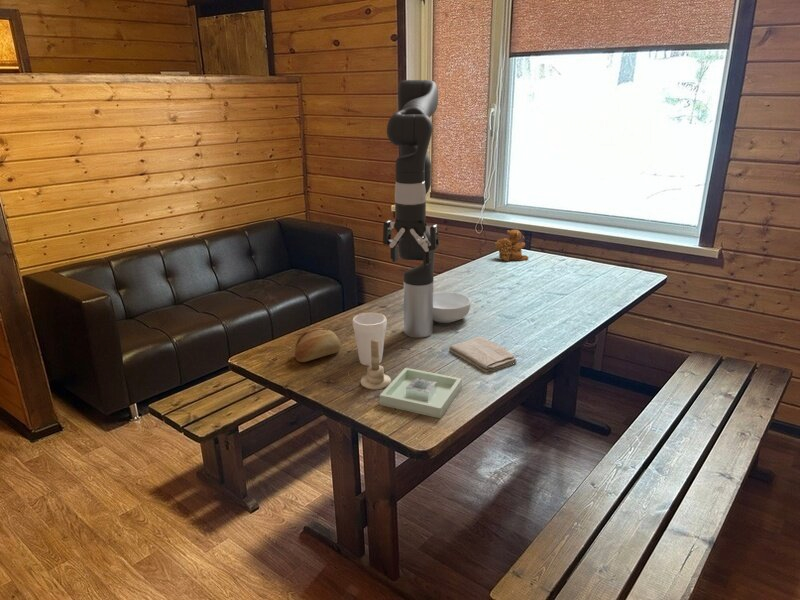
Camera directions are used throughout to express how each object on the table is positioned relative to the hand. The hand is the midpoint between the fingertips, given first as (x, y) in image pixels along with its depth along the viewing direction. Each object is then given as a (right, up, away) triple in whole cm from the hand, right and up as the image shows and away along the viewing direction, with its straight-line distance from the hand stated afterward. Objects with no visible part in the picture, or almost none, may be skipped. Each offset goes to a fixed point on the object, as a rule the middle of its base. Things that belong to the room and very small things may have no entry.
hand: (410, 262), depth 148 cm
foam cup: (-11, -27, +19) cm, 35 cm away
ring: (+3, -33, -1) cm, 33 cm away
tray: (+3, -34, 0) cm, 34 cm away
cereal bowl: (+12, -16, +48) cm, 52 cm away
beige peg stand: (-9, -31, +7) cm, 33 cm away
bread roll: (-27, -26, +22) cm, 44 cm away
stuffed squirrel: (+47, +9, +113) cm, 123 cm away
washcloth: (+21, -27, +21) cm, 40 cm away
